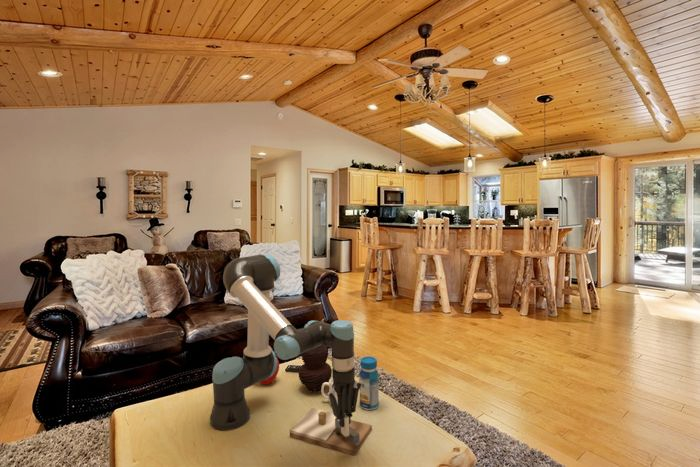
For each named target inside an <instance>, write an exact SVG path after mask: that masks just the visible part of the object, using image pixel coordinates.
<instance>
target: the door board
mask: <svg viewBox="0 0 700 467" xmlns="http://www.w3.org/2000/svg"><path fill="white" fill-rule="evenodd" d="M335 418H337V417H335V416H334V414H333V412H330V411H326V410H322V409H318V408H314V407H311V408H310V409H309V410H308V411H307V412H306V413H305V414H304V415H303V416H302V417H301V418H300V419H299V420H298V421H297V422H296V423H295V424H293V426H292V427H291V428H290V429H289V438H293V439H296V440H301V441H305V442H308V443H310V444H314V445H318V446H320V447H325V448H328V449H331V450H334V451H338V452H341V453H345V454H348V455H352V456H356V454H357V453H358V451H359V449H360V448H361V446H362V445H363V444H364V442H365V440H366V439H367V437H368V436H369V434H370V432H371V431H372V426H373V425H372V424H370V423H369V424H368V423H365V422H361V421H356V420H353V419H351V423H350V424H349V426H350V427H352V428H353V429H354V430H355V431H356V432H358V433H359V440H360V442H359V443H357V444H355V445H353V444H352V443H351V442H350V441H349V440H348V439H347V438H345V437H344V436H343V435H337V434H336V433H335Z"/></svg>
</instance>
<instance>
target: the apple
mask: <svg viewBox="0 0 700 467" xmlns="http://www.w3.org/2000/svg"><path fill="white" fill-rule="evenodd" d="M276 358H277V369H276V372H275V373H274V374H273V375H272V376H271V377H269V378H268V379H266V380H264V381H261V382H260V383H261V384H263V385H269V384H272V383H273V382H274V381H275V379H276V378H277V376H278V373H279V371H280V362H279V359H278V356H276Z"/></svg>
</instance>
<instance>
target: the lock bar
mask: <svg viewBox="0 0 700 467" xmlns="http://www.w3.org/2000/svg"><path fill="white" fill-rule="evenodd" d="M335 433H336V434H337V435H343V434H342V433H341V426H340V425H339V419H338V418H335ZM343 436H344V435H343ZM344 437H345V436H344ZM345 438H347V439H348V440H349V441H350V442H351V443H352V444H353V445H355V444H357V443H359V442H360V440H359V433H358V432H356V431H355V430H354V429H353V428H352V427H350V426H349V436H347V437H345Z"/></svg>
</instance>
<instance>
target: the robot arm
mask: <svg viewBox="0 0 700 467" xmlns="http://www.w3.org/2000/svg"><path fill="white" fill-rule="evenodd" d="M222 276H223V277H222V279H223V285H224V287H225V289H226V291H227V292H228V293H229V295H230V296H231V297H232V298H237V299H238V301H240V303H241V304H242V305H243V306H244V307H245V308H246V309H247V342H246V344H247V345H246V347H245V348H244V349H243V357H240V356H232V357H225V358H223V359H221V360H220V361H218V362H217V363H216V364H215V365H214V366H213V369H212V377H211V380H212V388H213V389H212V390H213V392H212V393H213V406H212V410H211V414H210V415H209V416H210V417H209V424H210V426H211V427H212V428H213V429H215V430H217V431H218V430H219V431H229V430H234V429H239V428H240V427H241V426H243V425H244V426H245V424H246V423H247V422H248V421H249V420H250V418H251V410H250V407H249V405H248V402H247V400H246V396H245V393H246V392H245V390H246V389H248V388H250V387H251V386H254V385H256V384H258V383H261V381H264V380H266V379H268V378H269V377H271V376H272V375H273V374H274V373H275V372H276V369H277V359H278V358H279V359H280V360H282V361H286V360H289V359H290V360H291V359H293V358H296V357H298V356H301V354H302V353H304V352H306V351H309V350H311V349H314V348H316V347H318V346H326V347H327V348H328V349H329V348H330V349H331V369H332V374H331V375H332V376H331V378H333V385H332V389H331V390H330V392H329V390H328V391H326V393H325V395H327V396H328V397H329V399H328V400H329V404H330V403H331V405H330V406H331V410H332V413H333V414H334V416H335V417H337V418H338V419H339V425H340V426H341V433H342V434H343V435H344V436H345V437H347V436H349V424H350V423H351V420H352V419H351V418H352V417H353V413H355V412H356V411H357V410H356V409H357V403H358V396H359V393H360V386H361V384H360V383H359V381H357V380H356V379H355V378H356V374H355V373H356V372H355V370H356V369H355V332H354V324H353V323H352V322H351V321H349V320H342V319H337V320H334V321H332V323H331V324H330V323H327V322H324V321H319V320H310V321H308V322H307V323H305V324H306V325H304V327H303V328H300V329H297V328H296V327H295V326H294V325H293V324H291V322H290V321H289V320H288V319H287V318H286V317H285V316H284V315H283V314H282V312H280V310H279V309H278V308H277V307H276V306H275V305H274V304H273V303H272V301H271V297H270V296H271V295H270V294H271V291H272V290H274V289H275V287H274V286H275V282H277V281H278V279H279V278H280V276H281V267H280V264H279V262H278V261H277V259H276V258H275V257H274V255H272V254H268V253H264V254H256V255H250V256H245V257H244V256H242V257H236V258H234V259H232V260H231V261H230V262H228V264H227V265H226V266H225V268H224V270H223V275H222ZM269 336H270V337H271V338H272V339H273V340H274V342H273V348H272V347H271V346H270V345H269V340H270V338H269ZM273 349H274V350H273ZM276 357H277V358H276ZM335 392H336V393H337V397H338V404H337V401H336V398H335V396H336V395H335Z"/></svg>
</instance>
